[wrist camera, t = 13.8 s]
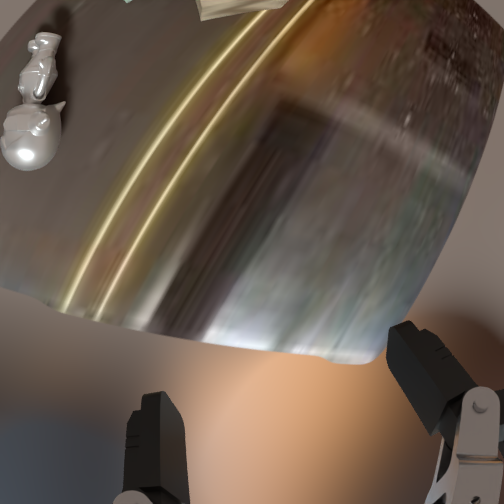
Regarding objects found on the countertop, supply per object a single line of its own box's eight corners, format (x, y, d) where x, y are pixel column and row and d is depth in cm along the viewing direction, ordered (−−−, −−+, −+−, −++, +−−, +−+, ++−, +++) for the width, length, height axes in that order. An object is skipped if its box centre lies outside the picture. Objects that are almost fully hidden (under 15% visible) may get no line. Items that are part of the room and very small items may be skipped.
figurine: (36, 20, 18) (7, 175, 22) (98, 33, 24) (73, 172, 28) (10, 48, 24) (-10, 170, 28) (59, 55, 30) (41, 168, 34)
